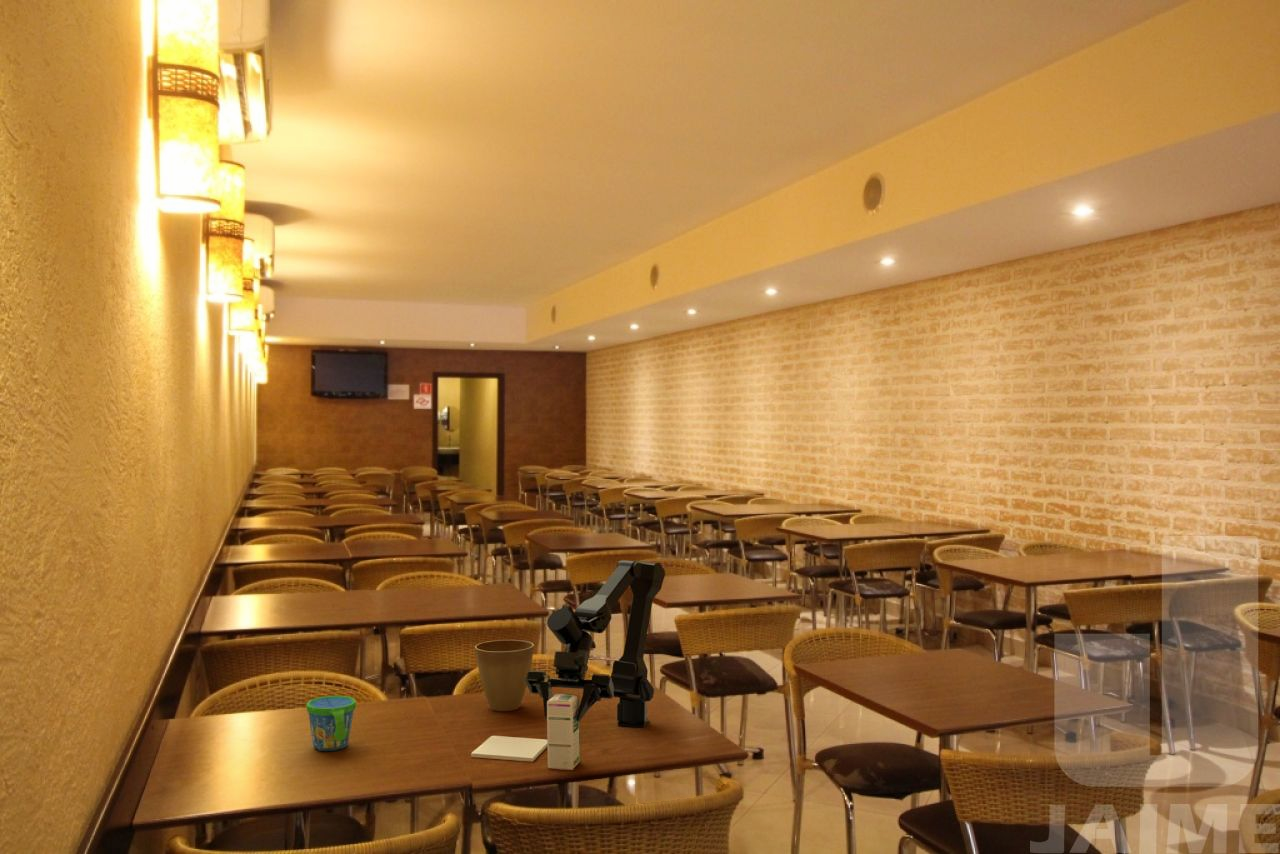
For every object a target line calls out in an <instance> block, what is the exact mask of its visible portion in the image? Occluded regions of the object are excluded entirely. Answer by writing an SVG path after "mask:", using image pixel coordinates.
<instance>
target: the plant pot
mask: <svg viewBox="0 0 1280 854" xmlns="http://www.w3.org/2000/svg"><path fill="white" fill-rule="evenodd" d="M534 646H535V644H534V642H531V641H527V640H518V639H497V640H489V641H484V642H480V643H478V644H476V645H475V646H474V650H475V656H476V657H475V658H476V662H477V666H478V667H477V668H478V673H479V676H480V681H481V684H482V688H483V692H484V695H485V697H486V698H485V699H486V700H487V703H488V706H489V708H490V709H491V710H492V711H494V712H495V711H496V712H511V711H515V710H518V709H519V708H520V707H521V704H522V701H523V698H524V695H525V693H526V690H527V689H526V688H527V687H528V686H527V683H526V681H525V678H526V675H527V673H528V672H529V671H530V670H532V669H531V668H532V664H533V655H534V648H535V647H534Z"/></svg>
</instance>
